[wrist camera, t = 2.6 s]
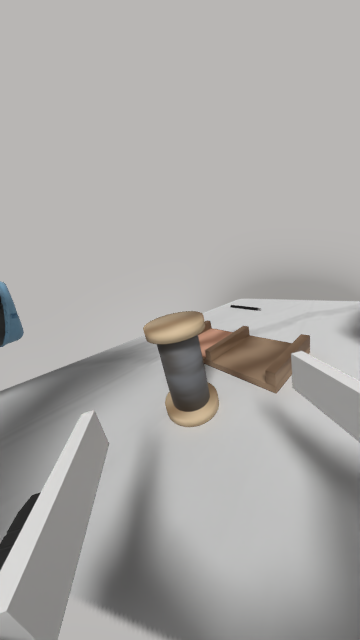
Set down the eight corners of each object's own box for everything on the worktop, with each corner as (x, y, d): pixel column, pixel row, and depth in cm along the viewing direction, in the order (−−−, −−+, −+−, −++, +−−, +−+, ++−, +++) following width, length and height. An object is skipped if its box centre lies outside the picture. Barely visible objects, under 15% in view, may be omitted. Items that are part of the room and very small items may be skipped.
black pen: (261, 310, 54) (261, 307, 54) (259, 311, 54) (259, 308, 53) (232, 307, 64) (232, 304, 64) (230, 308, 64) (230, 305, 64)
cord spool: (157, 406, 24) (133, 327, 21) (193, 380, 28) (178, 309, 25) (190, 438, 19) (165, 338, 15) (230, 400, 23) (216, 313, 19)
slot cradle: (173, 350, 40) (170, 338, 39) (208, 331, 47) (206, 320, 46) (276, 393, 22) (275, 373, 21) (309, 352, 29) (309, 335, 28)
